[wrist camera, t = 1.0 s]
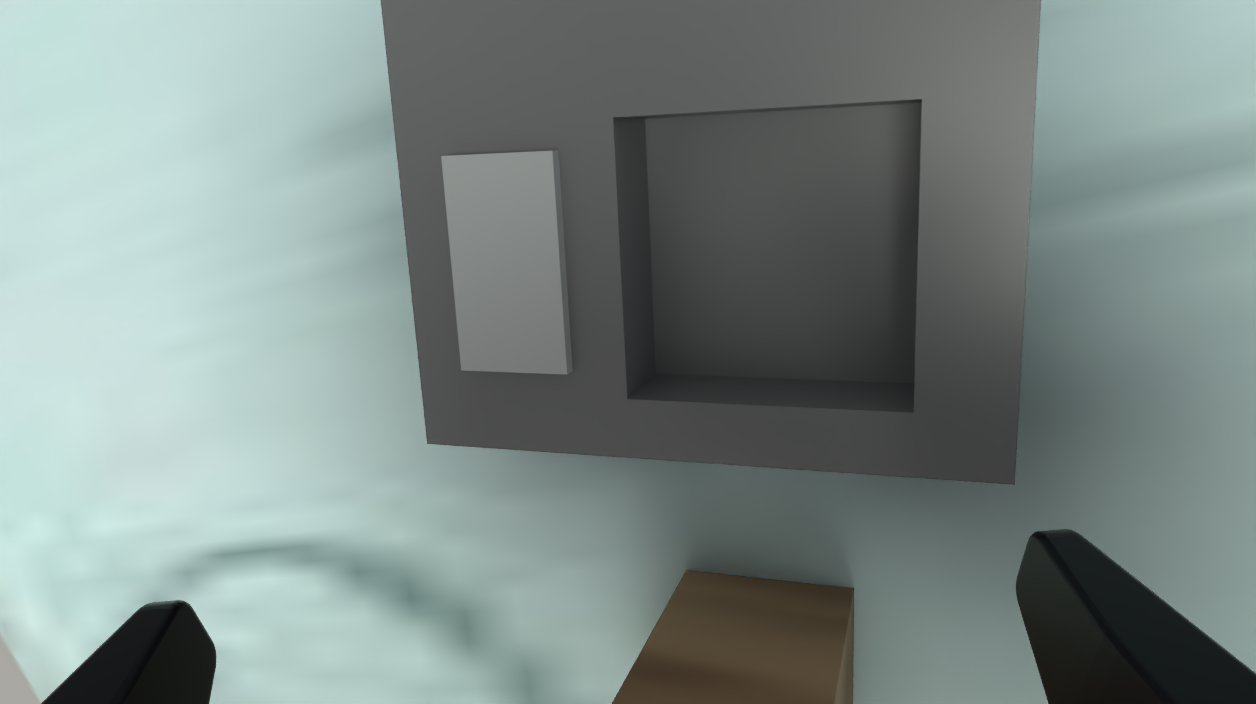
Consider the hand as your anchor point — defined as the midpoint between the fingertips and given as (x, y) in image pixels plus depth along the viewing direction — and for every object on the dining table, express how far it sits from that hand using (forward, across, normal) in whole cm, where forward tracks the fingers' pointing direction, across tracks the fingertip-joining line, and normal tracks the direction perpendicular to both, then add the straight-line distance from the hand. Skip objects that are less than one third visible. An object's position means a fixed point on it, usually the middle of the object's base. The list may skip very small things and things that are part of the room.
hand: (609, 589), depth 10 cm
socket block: (+13, -3, -1) cm, 13 cm away
